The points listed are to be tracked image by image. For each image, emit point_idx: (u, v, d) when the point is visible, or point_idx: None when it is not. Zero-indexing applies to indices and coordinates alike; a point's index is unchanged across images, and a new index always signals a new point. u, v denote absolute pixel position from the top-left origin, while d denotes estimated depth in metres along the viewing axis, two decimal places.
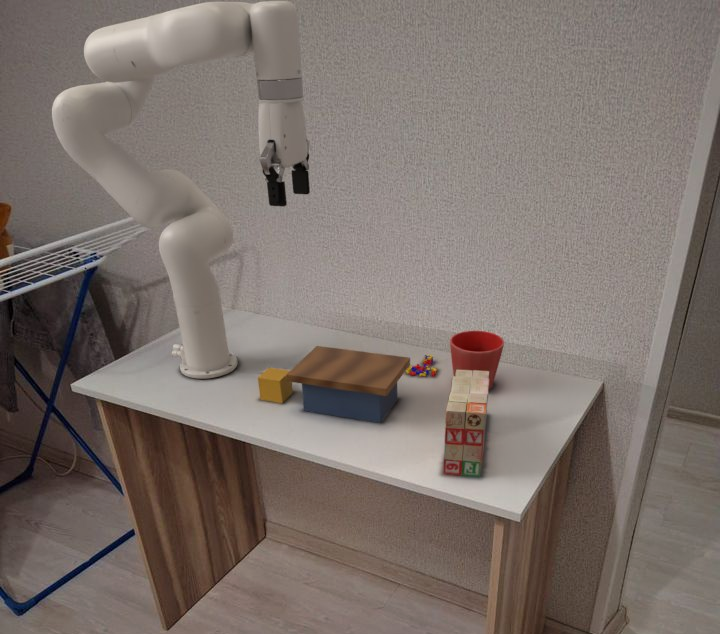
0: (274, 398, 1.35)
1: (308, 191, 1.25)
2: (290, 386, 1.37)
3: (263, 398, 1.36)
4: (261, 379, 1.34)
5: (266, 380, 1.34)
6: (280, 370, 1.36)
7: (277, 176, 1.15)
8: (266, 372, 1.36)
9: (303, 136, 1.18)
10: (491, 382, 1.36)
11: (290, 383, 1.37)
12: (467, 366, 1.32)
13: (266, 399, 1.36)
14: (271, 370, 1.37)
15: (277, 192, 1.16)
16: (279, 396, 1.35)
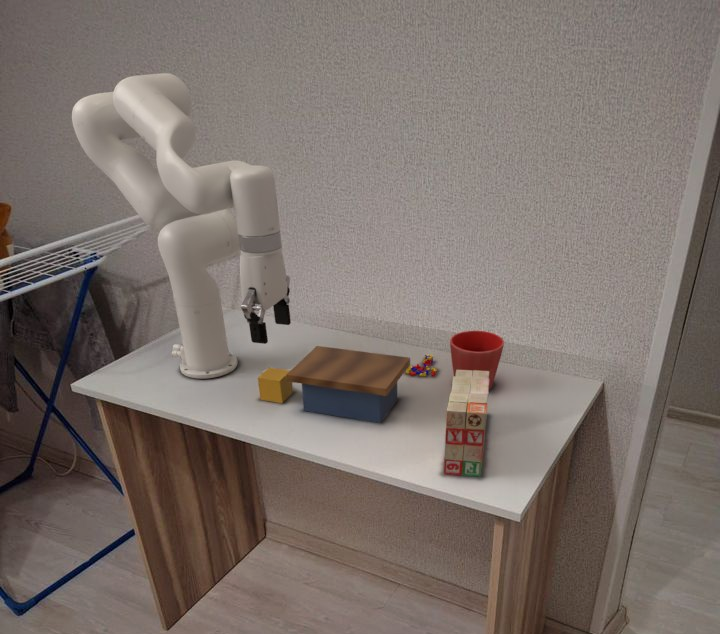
0: (274, 398, 1.35)
1: (289, 322, 1.33)
2: (290, 386, 1.37)
3: (263, 398, 1.36)
4: (261, 379, 1.34)
5: (266, 380, 1.34)
6: (280, 370, 1.36)
7: (258, 319, 1.23)
8: (266, 372, 1.36)
9: (283, 278, 1.26)
10: (491, 382, 1.36)
11: (290, 383, 1.37)
12: (467, 366, 1.32)
13: (266, 399, 1.36)
14: (271, 370, 1.37)
15: (258, 332, 1.24)
16: (279, 396, 1.35)
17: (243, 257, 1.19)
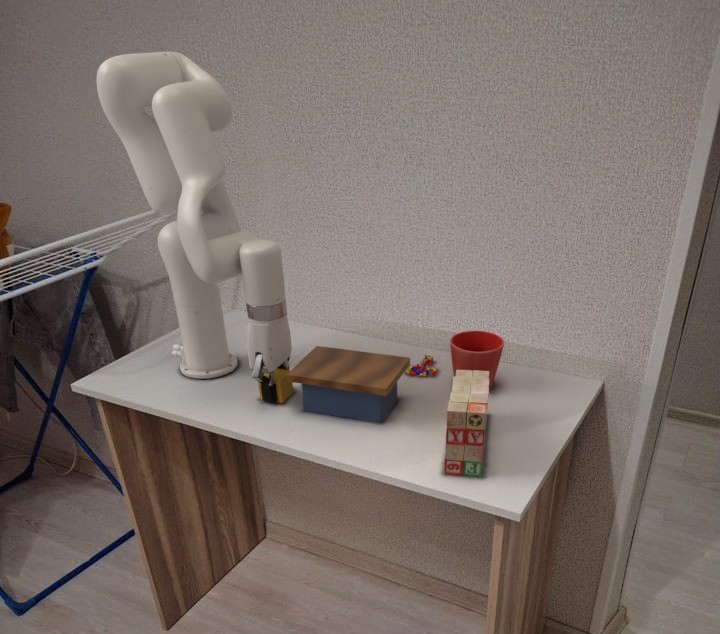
0: None
1: None
2: (290, 386, 1.37)
3: None
4: None
5: None
6: (280, 370, 1.36)
7: (269, 383, 1.32)
8: None
9: (287, 340, 1.33)
10: (491, 382, 1.36)
11: (290, 383, 1.37)
12: (467, 366, 1.32)
13: None
14: None
15: (269, 393, 1.33)
16: (279, 396, 1.35)
17: (250, 324, 1.26)
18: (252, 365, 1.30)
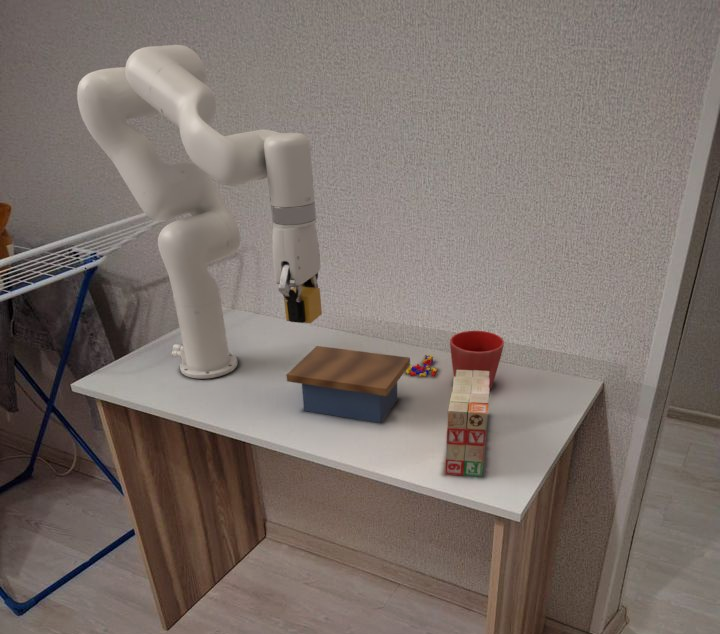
0: None
1: None
2: (319, 306, 1.25)
3: None
4: None
5: None
6: (308, 288, 1.24)
7: (296, 298, 1.20)
8: None
9: (316, 252, 1.21)
10: (491, 382, 1.36)
11: (319, 302, 1.25)
12: (467, 366, 1.32)
13: None
14: None
15: (296, 311, 1.21)
16: (307, 315, 1.23)
17: (276, 229, 1.14)
18: (278, 278, 1.18)
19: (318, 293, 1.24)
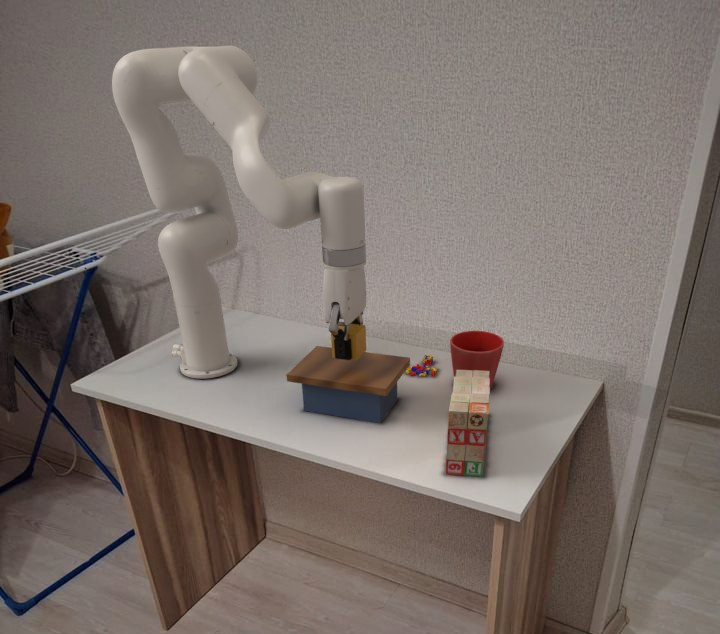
0: None
1: None
2: (364, 343, 1.27)
3: None
4: None
5: None
6: (354, 325, 1.26)
7: (344, 337, 1.21)
8: (339, 327, 1.25)
9: (363, 291, 1.22)
10: (491, 382, 1.36)
11: (364, 339, 1.27)
12: (467, 366, 1.32)
13: None
14: None
15: (344, 349, 1.23)
16: (353, 352, 1.24)
17: (328, 271, 1.15)
18: (327, 317, 1.19)
19: (364, 330, 1.26)
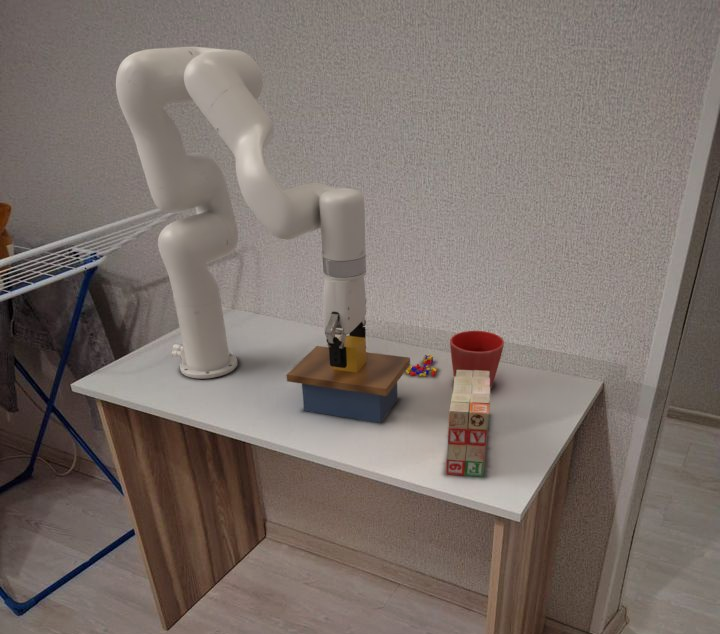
0: (348, 367, 1.26)
1: None
2: (364, 355, 1.28)
3: (336, 368, 1.27)
4: None
5: None
6: (354, 338, 1.27)
7: (340, 344, 1.20)
8: None
9: (363, 301, 1.24)
10: (491, 382, 1.36)
11: (364, 352, 1.28)
12: (467, 366, 1.32)
13: (339, 368, 1.27)
14: None
15: (339, 356, 1.22)
16: (353, 365, 1.26)
17: (328, 281, 1.16)
18: (327, 327, 1.20)
19: (364, 343, 1.27)
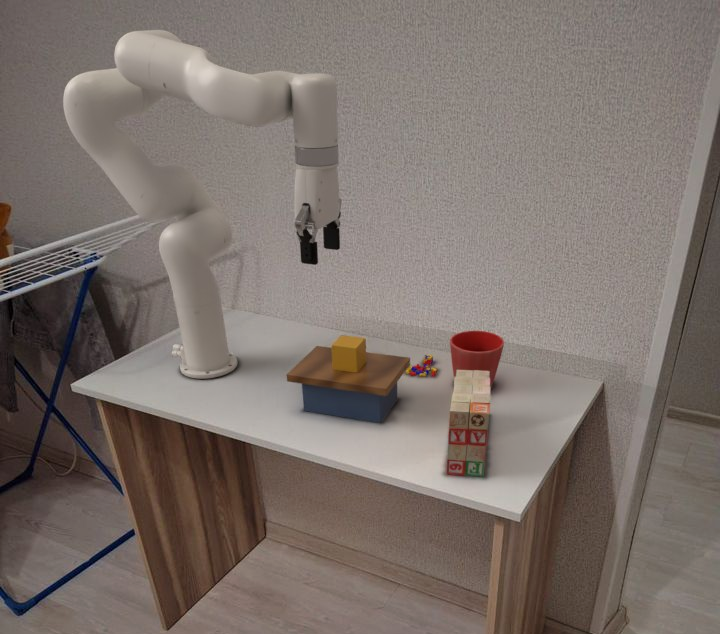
0: (348, 367, 1.26)
1: (338, 247, 1.30)
2: (364, 355, 1.28)
3: (336, 368, 1.27)
4: (335, 346, 1.25)
5: (341, 347, 1.25)
6: (354, 338, 1.27)
7: (310, 237, 1.19)
8: (339, 340, 1.27)
9: (336, 197, 1.22)
10: (491, 382, 1.36)
11: (364, 352, 1.28)
12: (467, 366, 1.32)
13: (339, 368, 1.27)
14: (344, 337, 1.28)
15: (309, 252, 1.21)
16: (353, 365, 1.26)
17: (299, 170, 1.15)
18: None
19: (364, 343, 1.27)
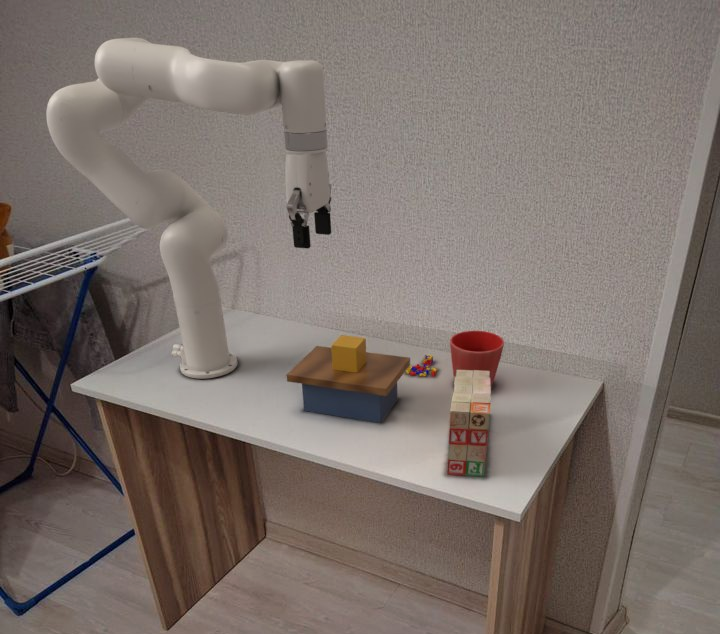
0: (348, 367, 1.26)
1: (330, 232, 1.32)
2: (364, 355, 1.28)
3: (336, 368, 1.27)
4: (335, 346, 1.25)
5: (341, 347, 1.25)
6: (354, 338, 1.27)
7: (302, 221, 1.22)
8: (339, 340, 1.27)
9: (326, 182, 1.25)
10: (491, 382, 1.36)
11: (364, 352, 1.28)
12: (467, 366, 1.32)
13: (339, 368, 1.27)
14: (344, 337, 1.28)
15: (302, 235, 1.24)
16: (353, 365, 1.26)
17: (289, 155, 1.18)
18: None
19: (364, 343, 1.27)
